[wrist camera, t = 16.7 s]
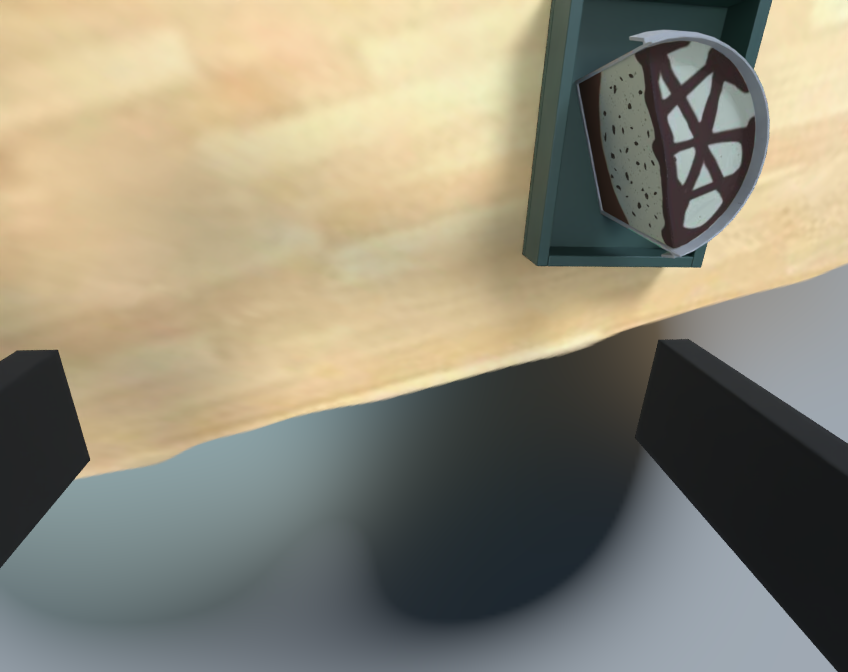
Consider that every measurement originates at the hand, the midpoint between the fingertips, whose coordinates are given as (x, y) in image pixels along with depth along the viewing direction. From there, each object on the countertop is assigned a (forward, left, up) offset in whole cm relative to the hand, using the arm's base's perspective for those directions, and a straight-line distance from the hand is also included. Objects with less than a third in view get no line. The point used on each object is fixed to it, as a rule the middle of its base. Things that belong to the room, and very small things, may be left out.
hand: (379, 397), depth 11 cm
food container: (+18, +6, -26) cm, 32 cm away
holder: (+18, +6, -27) cm, 33 cm away
